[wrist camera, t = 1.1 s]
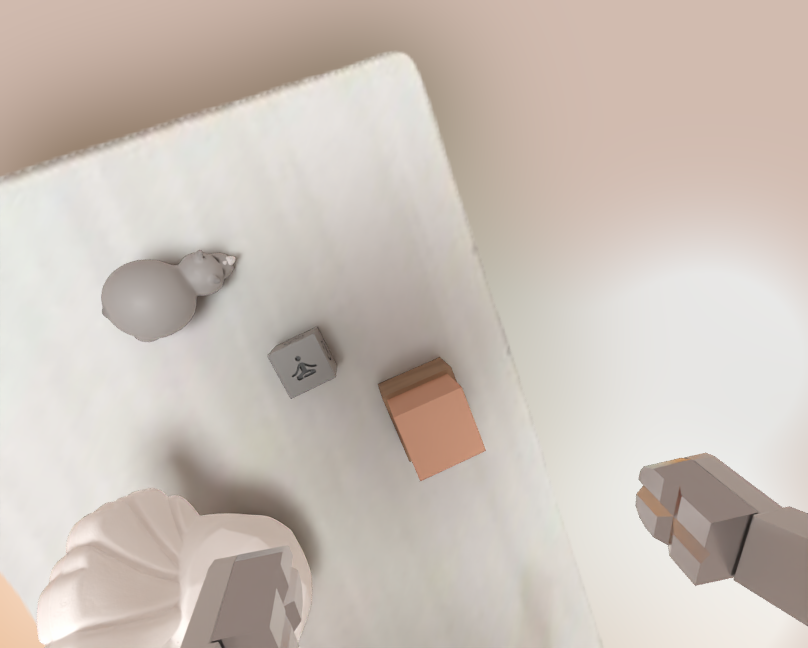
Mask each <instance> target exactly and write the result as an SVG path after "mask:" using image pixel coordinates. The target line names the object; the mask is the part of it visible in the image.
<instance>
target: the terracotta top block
mask: <svg viewBox="0 0 808 648" xmlns="http://www.w3.org/2000/svg"><path fill="white" fill-rule="evenodd" d="M387 401H388V404H389V407H390V410H391V413H392V415H393V418H394V421H395V423H396V425H397V428H398V430H399V432H400V435H401V437H402V439H403V442H404V444H405V446H406V449H407V451H408V453H409V456H410V458H411V460H412V463H413V465H414V467H415V470H416V472H417V474H418V477H419V479H420V481H422V480H424V479H426V478H428V477H431V476H433V475H435V474H437V473H439V472H441V471H443V470H446V469H448V468H450V467H452V466H454V465H456V464H458V463H461V462H463V461H465V460H467V459H469V458H471V457H473V456H476V455H478V454H480V453H482V452H484V451H486V449H485V447H484V444H483V441H482V439H481V436H480V434H479V431H478V428H477V426H476V423H475V421H474V418H473V415H472V413H471V410H470V407H469V405H468V402H467V400H466V397H465V394H464V392H463V389H462V387H461V386H460V385H459V384H458V383H457V382H456V381H455V380H454V379H453V378H452V377H451V376H449V375H448V374H445V375H443V376H441V377H438V378H436V379H434V380H431V381H429V382H427V383H425V384H422V385H420V386H418V387H415V388H413V389H411V390H409V391H406V392H404V393H402V394H400V395H397V396H395V397H393V398H390V399H388V400H387Z"/></svg>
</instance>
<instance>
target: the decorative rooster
mask: <svg viewBox="0 0 808 648" xmlns="http://www.w3.org/2000/svg"><path fill="white" fill-rule="evenodd" d="M282 546H289V547H290V550H291V552H292V555H293V559H292V567H293V568H295V569H297V570H298V572H299V575H300V578H301V584H302V595H303V608H302V620H301V622H300V624H299V625H298V627H297V628H296V630H295V631H294V633H295V636H296V639H297V641H299V639H300V637H301V635H302V632H303V629H304V626H305V624H306V621H307V618H308V614H309V611H310V608H311V603H312V575H311V571H310V568H309V565H308V562H307V560H306V557H305V555H304V552H303V550H302V548H301V547H300V545H299V543H298V541H297V539H296V537H295V536H294V534H293V532H292V531H291V530H290V529H289V528H288V527H287V526H285V525H284V524H282V523H281V522H279V521H277V520H276V519H274V518H271V517H268V516H264V515H248V514H228V513H227V514H226V513H225V514H208V515H199V514H198V512H197V511H196V510H195V508H194V507H193V506H192V505H191V504H190V503H189V502H188V501H187V500H186V499H184V498H183V497H181V496H177V495H173V496H168V497H167V496H166V494H165V493H164V492H162V491H161V490H158V489H155V488H149V489H144V490H140V491H135V492H132V493H131V494H129V495H128V496H125V497H121V498H119V499H117V500H116V501H114V502H108V503H105V504H104V505H102V506H101V507H99V508H98V509H97V510H95V511H94V512H93V513H90V514H88V515H86V516H84V517H83V518H82V519H81V520H79V521H78V522H77V523H76V524H75V525H74V526H73V528H72V529H71V531H70V533H69V535H68V538H67V543H66V555H65V556H64V557H63V558H61V559H60V560H59V561H58V562H57V563H56V564H55V566H54V567H53V569H52V571H51V574H50V579H49V584H48V585H47V586H46V588H45V589H44V590H43V591H42V593H41V595H40V597H39V601H38V607H37V630H38V638H39V641H40V642H41V643H42V644H45V648H180V647H181V644H182V641H183V638H184V636H185V633H186V630H187V627H188V624H189V621H190V619H191V616H192V613H193V610H194V607H195V604H196V602H197V599H198V596H199V593H200V590H201V588H202V585H203V582H204V579H205V576H206V573H207V571H208V568H209V567H210V565H211V564H212V563H213V561H214V560H216V559H220V558H225V557H230V556H235V555H239V554H245V553H250V552H255V551H260V550H266V549H271V548H276V547H282Z"/></svg>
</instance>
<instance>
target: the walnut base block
mask: <svg viewBox="0 0 808 648" xmlns="http://www.w3.org/2000/svg"><path fill="white" fill-rule="evenodd" d="M445 374H448V375H449V376H451V377H452V378H453V379H454V380H455V381H456V379H455V376H454V374H453V371H452V368H451V367H450V366H449V365H448V364H447V363H446V362H445V361H443V360H442V359H441V358H440V357H439V358H437V359H435V360H432V361H430V362H428V363H425V364H423V365H421V366H418V367H416V368H414V369H412V370H409V371H407V372H405V373H402V374H400V375H398V376H396V377H393V378H391V379H389V380H386V381H384V382H382V383H379V384H378V386H379V389H380V393H381V396H382V399H383V401H384V403H385V406H386V408H387V410H388V413H389V415H390V417H391V420H392V422H393V424H394V426H395V429H396V431H397V433H398V436H399V438H400V440H401V443H402V445H403V447H404V450H405V452H406V454H407V457H408V459H409V461H410V462H411V461H412V460H411V458H410V456H409V453H408V451H407V449H406V446H405V444H404V442H403V439H402V437H401V435H400V432H399V430H398V428H397V425H396V423H395V421H394V418H393V415H392V413H391V410H390V407H389V404H388V401H387V400H388V399H390V398H393V397H395V396H397V395H400V394H402V393H404V392H406V391H409V390H411V389H413V388H415V387H418V386H420V385H422V384H425V383H427V382H429V381H431V380H434V379H436V378H438V377H441V376H443V375H445ZM456 382H457V381H456Z"/></svg>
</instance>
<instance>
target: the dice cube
mask: <svg viewBox="0 0 808 648" xmlns="http://www.w3.org/2000/svg"><path fill="white" fill-rule="evenodd" d="M267 357H268V358H269V360H270V362H271V364H272V366H273V367H274V369H275V371H276V373H277V375H278V377H279V378H280V380H281V382H282V384H283V386H284V388H285V389H286V391H287V393H288V395H289V397H290V398H291V399H292V398H294V397H296V396H298V395H300V394H302V393H304V392H307V391H309V390H311V389H313V388H315V387H317V386H319V385H321V384H323V383H325V382H327V381H329V380H331V379H333V378H335V377H336V372H337V364H336V362H335V360H334V359H333V357H332V355H331V353H330V351H329V349H328V347H327V345H326V343H325V341H324V339H323V337H322V335H321V333H320V331H319V329H318V327H315V328H313V329H311V330H309V331H307V332H305V333H303V334H301V335H298V336H296V337H294V338H292V339H290V340H288V341H286V342H284V343H281V344H279V345H277V346H276V347H275V348H274V349H273V350H272V351H271V352H270V353H269V354H268V355H267Z"/></svg>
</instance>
